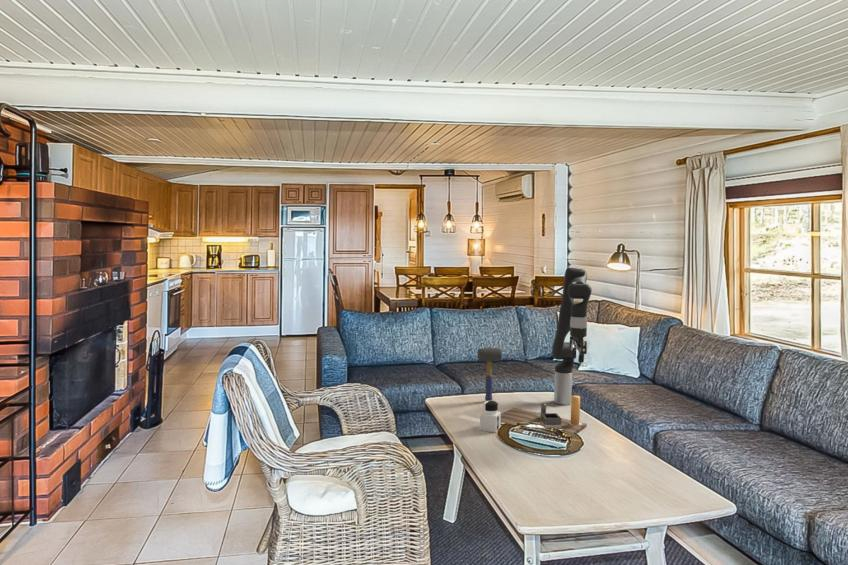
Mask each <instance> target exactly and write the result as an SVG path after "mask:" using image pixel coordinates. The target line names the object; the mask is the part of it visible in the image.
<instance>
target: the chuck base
mask: <svg viewBox="0 0 848 565" xmlns="http://www.w3.org/2000/svg"><path fill="white" fill-rule="evenodd" d="M537 413H538V412H535V411H530V410H527V409H521V408H517V407H512V408H510V409H508V410H505V411H504V412H501V424H500V426H503V425H505V424H506V425H510V426H515V425H517V423H519V422H540V420H539V419H537ZM560 418H561V429H563V430H564V431H565V432H567V433H568V434H569V436H570V435H572V434H574V433H577V434H578V433H580V432H581V431H583V430H585V429H586V428H587V426H588V425H587V423H585V422H580V421H579V425H573V424H571V419H567V418H563V417H560Z"/></svg>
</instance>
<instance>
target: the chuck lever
mask: <svg viewBox="0 0 848 565" xmlns="http://www.w3.org/2000/svg"><path fill="white" fill-rule="evenodd" d="M536 413H537V419H539V420H540V424H541V425H542V426H544V427H545V428H557V429H561V418H562V417H560V415H559V414H558V413H555V412H549V413H548V412H547V403H545V402H542V403H541V404H540V412H536Z"/></svg>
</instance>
